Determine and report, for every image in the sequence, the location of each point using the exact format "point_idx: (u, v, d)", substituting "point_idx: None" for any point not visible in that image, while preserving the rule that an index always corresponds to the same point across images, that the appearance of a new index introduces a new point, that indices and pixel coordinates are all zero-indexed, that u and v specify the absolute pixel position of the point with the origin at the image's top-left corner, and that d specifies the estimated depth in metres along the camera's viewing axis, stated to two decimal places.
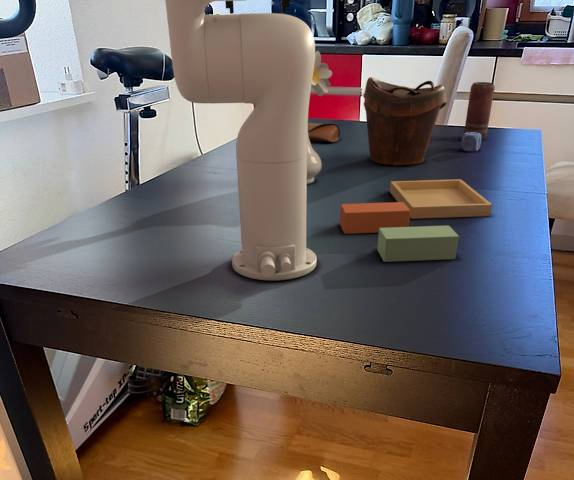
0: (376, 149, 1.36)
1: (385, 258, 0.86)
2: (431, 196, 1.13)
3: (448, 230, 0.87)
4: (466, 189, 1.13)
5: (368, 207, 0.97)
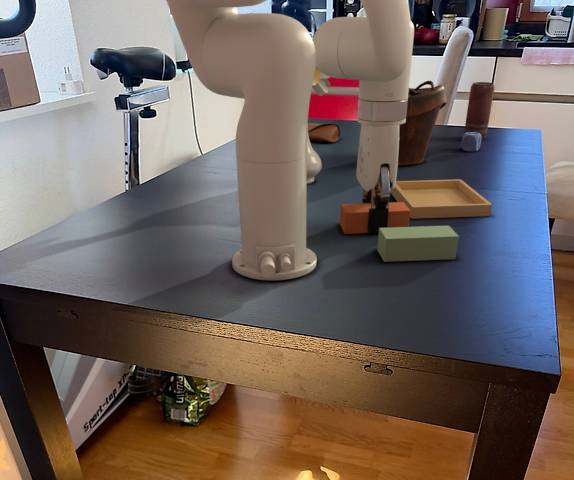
0: None
1: (385, 258, 0.86)
2: (431, 196, 1.13)
3: (448, 230, 0.87)
4: (466, 189, 1.13)
5: (368, 207, 0.97)
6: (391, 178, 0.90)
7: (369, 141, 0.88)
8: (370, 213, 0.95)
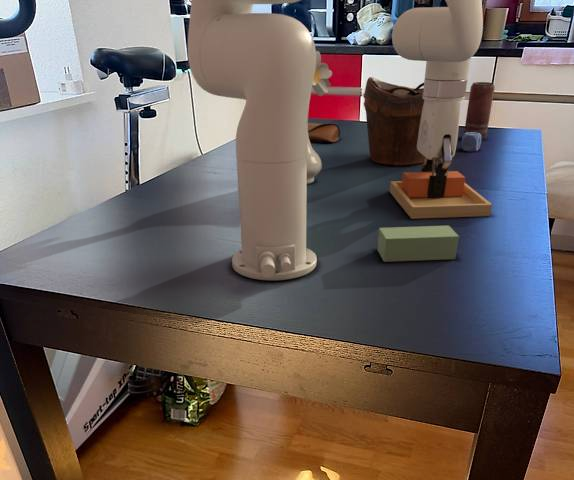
0: (376, 149, 1.36)
1: (385, 258, 0.86)
2: None
3: (448, 230, 0.87)
4: (466, 189, 1.13)
5: (428, 175, 1.12)
6: (452, 147, 1.04)
7: (434, 115, 1.02)
8: (431, 179, 1.09)
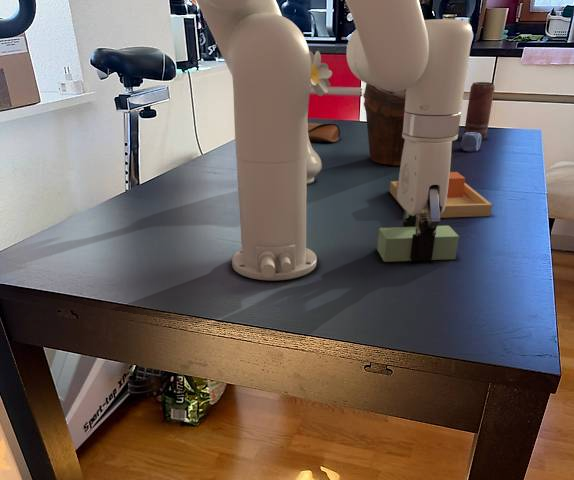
0: (376, 149, 1.36)
1: (385, 258, 0.86)
2: None
3: (448, 230, 0.87)
4: (466, 189, 1.13)
5: None
6: (440, 201, 0.79)
7: (417, 160, 0.77)
8: (414, 239, 0.84)
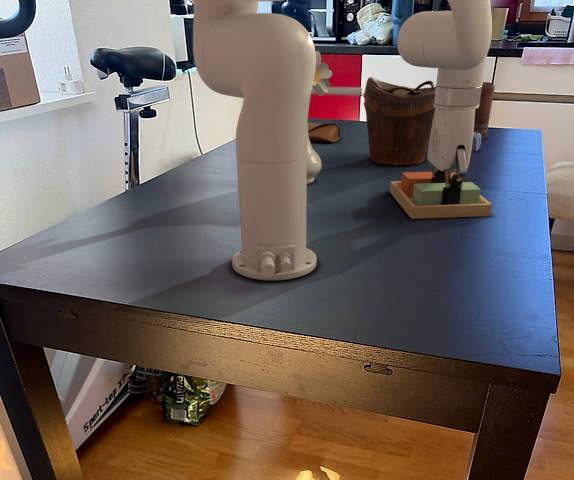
0: (376, 149, 1.36)
1: None
2: None
3: (471, 185, 1.06)
4: None
5: (427, 175, 1.12)
6: (466, 156, 0.98)
7: (447, 124, 0.96)
8: (444, 191, 1.03)
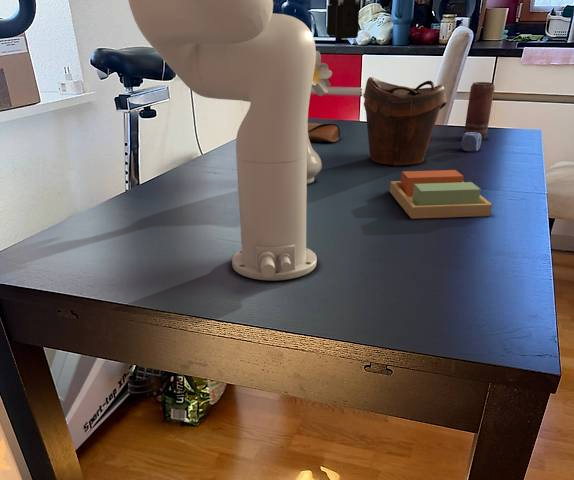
0: (376, 149, 1.36)
1: None
2: None
3: (471, 185, 1.06)
4: None
5: (427, 174, 1.13)
6: None
7: None
8: (338, 11, 0.81)
